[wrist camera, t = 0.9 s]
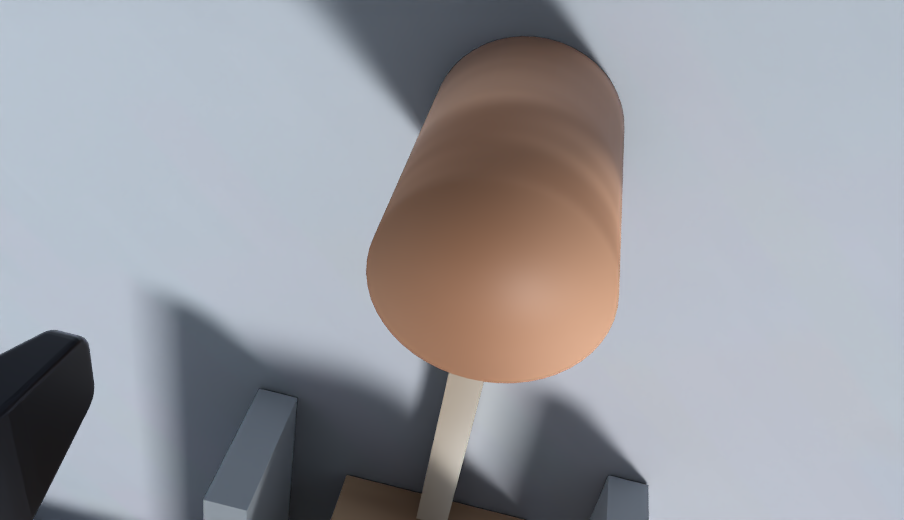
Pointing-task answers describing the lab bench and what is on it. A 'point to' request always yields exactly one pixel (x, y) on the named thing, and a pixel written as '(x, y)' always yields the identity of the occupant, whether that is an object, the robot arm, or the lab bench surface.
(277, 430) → the shelf lane
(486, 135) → the brown elongated piece
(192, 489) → the lab bench surface
